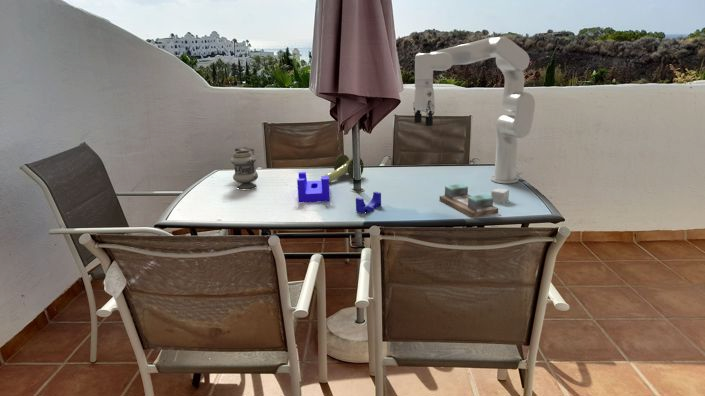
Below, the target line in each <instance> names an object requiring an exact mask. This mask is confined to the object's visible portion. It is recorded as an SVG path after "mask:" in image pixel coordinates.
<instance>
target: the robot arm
mask: <svg viewBox="0 0 705 396" xmlns="http://www.w3.org/2000/svg"><path fill="white" fill-rule="evenodd" d="M493 58H495V65H496V66H497V68H498V69H499V70H500V72H501V73H502V74H503V77H504V85H503V86H504V87H503V93H502V101H501V107H502V109H503V110H504V111H505V112H509V113H514V114H503V115H500V116H499V117H498V118H497V120H496V121H495V135H496V136H495V137H496V145H495V147H496V148H495V162H494V163H495V164H494V175H492V176H491V177H490V180H491V181H492V182H493V183H496V184H497V183H498V184H507V185H508V184H516V183H518V181H519V178H518V176H523V175H524V170H519V171H518V170H516V169H517V157H518V156H517V155H518V139H524V138H526V137H527V136H528V135H529V134H530V132H531V130H532V126H533V120H534V114H535V108H536V100H535V98H534V95H532V94H531V93H530V92H526V91H524V88H525V75H524V72H523V71H525V70H526V69H527V68H528V67H529V65H530V61H531V60H530V55H529V54H528V52H526V51H525V50H524V49H523V48H522V47H521V46H519V45H518V44H517V43H515V42H514V41H513V40H511V39H510V38H508V37H506V36H492V37H488V38H484V39H480V40H479V39H478V40H475V41H472V42H467V43H464V44H459V45H457V46H452V47H448V48H447V47H446V48H442V49H439V50H435V51H431V52H430V53H429V52H427V53H426V52H425V53H421V52H420V53H417V54H416V55H415V56H414V99H413V103H412V107H413V114H414V123H415V124H420V123H422V115H423V114H422V112H425V115H426V116H425V125H424V126H426V127H432V126H433V125H434V124H433V123H434V122H433V121H434V114H435V109H436V106H435V92H434V71H441V72H443V71H444V72H445V71H447V70H449V69H451V68H452V66H456V65H459V66H460V65H470V64H473V63H477V62H481V61H485V60H488V59H493Z"/></svg>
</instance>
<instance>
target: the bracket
mask: <svg viewBox="0 0 705 396" xmlns="http://www.w3.org/2000/svg"><path fill="white" fill-rule="evenodd" d="M307 178H308V177H307V172H306V171H299V172H298V178H297V179H296V183H297V196H298V203H299V202H305V203H318V202H317V201H321V202H320V203H322V201H325V202H330V201H331V197H330V183H329V176H325V175H323V176H322V175H321V178H320V180H308V179H307Z"/></svg>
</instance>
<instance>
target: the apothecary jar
mask: <svg viewBox="0 0 705 396" xmlns="http://www.w3.org/2000/svg"><path fill="white" fill-rule="evenodd" d="M254 155H255V154H254ZM254 155H252V152H251V151H250V150H241V151H236V152H235V151H234V152H233V156H232V157H231V159H230V162H231V164H232V165H233V166H234V174H233V175H232V178H233V180H234V181H235V182H236V183H239V185H237V186H236V189H237V188H239V189H250V190H253V189H252V188H254V189H256V188H257V184H256V183H252V182H254V181H256V180H257V179H258V177H259V173H258V172H257V170H256V171H255V169H254V162H255V163H256V161H257V159H256V156H254ZM255 187H256V188H255Z"/></svg>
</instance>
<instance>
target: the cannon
mask: <svg viewBox="0 0 705 396" xmlns="http://www.w3.org/2000/svg"><path fill="white" fill-rule="evenodd" d="M353 158H354V157H352V158H349V157H348V156H347V154H341V153H340V154H339V155H338V156H336V158H335V159H334V162H333V163H334V164H333V170H332V171H330V172H328V173H326V174H325V175H324V176H329V184H330V183H331V182H333V181H335V180H336V179H338V178H340V177H343V176H346V175H347V174H348V176H349V177H350V178H351V179H353ZM359 158H360V165H361V176H362V175H363V173H364V161H363V159H362V158H361V157H359ZM353 180H354V179H353Z"/></svg>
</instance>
